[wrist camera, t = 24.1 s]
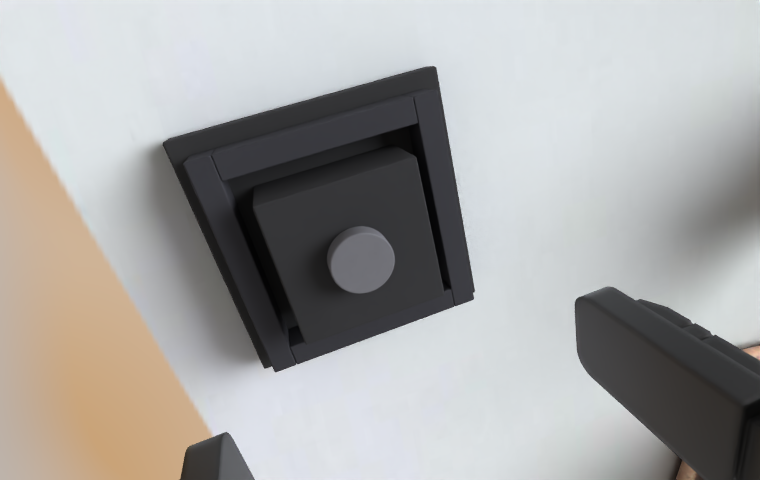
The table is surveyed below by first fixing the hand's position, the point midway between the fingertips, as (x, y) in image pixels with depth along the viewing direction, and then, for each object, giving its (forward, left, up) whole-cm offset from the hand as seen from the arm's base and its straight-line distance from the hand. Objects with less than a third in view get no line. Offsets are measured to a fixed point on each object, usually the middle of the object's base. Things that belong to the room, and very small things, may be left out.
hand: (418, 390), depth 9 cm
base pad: (0, 0, -11) cm, 11 cm away
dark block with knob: (0, 0, -10) cm, 10 cm away
